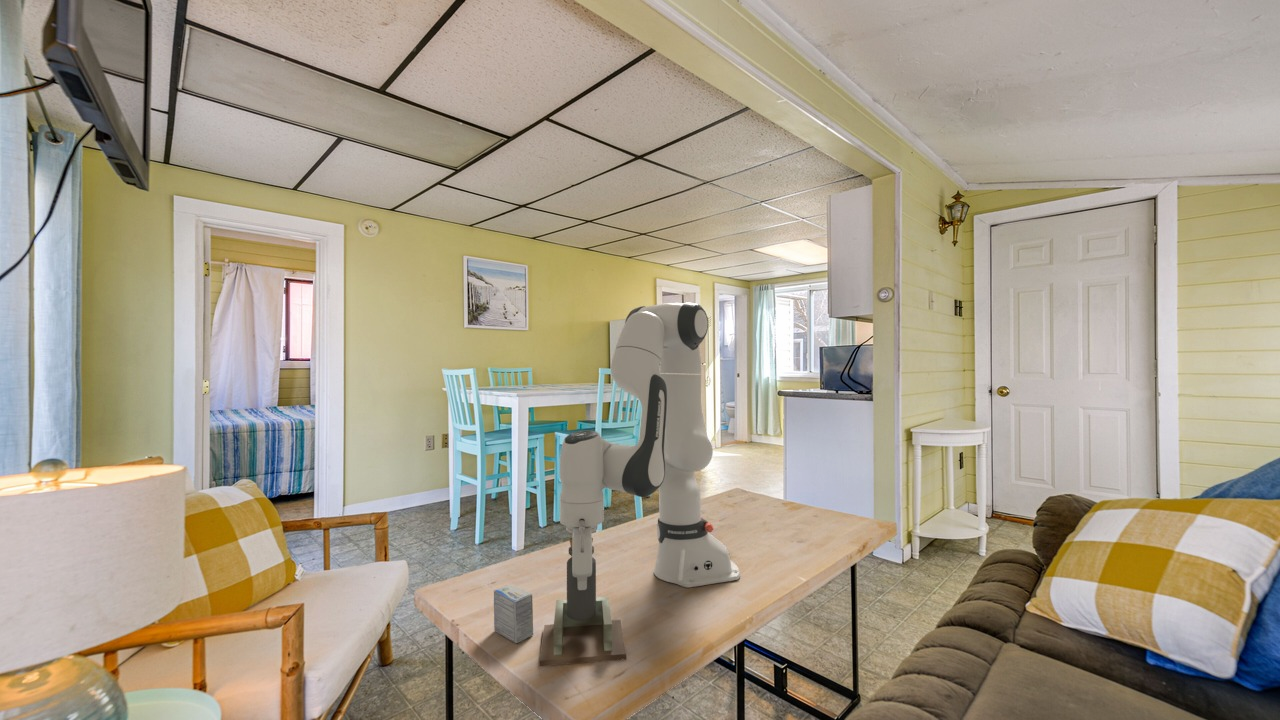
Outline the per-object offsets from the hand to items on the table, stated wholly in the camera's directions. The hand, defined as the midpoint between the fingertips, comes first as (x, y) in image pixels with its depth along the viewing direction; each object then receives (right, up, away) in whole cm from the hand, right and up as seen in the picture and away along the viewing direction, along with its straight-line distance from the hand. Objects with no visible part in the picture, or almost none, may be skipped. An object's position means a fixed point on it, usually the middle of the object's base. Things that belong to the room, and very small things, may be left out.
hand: (582, 581), depth 102 cm
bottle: (0, -7, 0) cm, 7 cm away
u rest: (0, -12, -2) cm, 12 cm away
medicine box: (-15, -12, +3) cm, 19 cm away
